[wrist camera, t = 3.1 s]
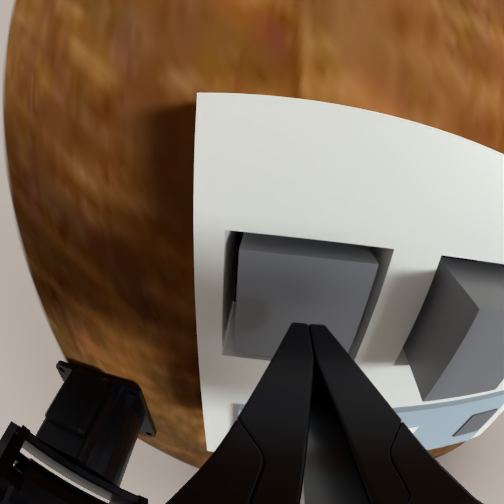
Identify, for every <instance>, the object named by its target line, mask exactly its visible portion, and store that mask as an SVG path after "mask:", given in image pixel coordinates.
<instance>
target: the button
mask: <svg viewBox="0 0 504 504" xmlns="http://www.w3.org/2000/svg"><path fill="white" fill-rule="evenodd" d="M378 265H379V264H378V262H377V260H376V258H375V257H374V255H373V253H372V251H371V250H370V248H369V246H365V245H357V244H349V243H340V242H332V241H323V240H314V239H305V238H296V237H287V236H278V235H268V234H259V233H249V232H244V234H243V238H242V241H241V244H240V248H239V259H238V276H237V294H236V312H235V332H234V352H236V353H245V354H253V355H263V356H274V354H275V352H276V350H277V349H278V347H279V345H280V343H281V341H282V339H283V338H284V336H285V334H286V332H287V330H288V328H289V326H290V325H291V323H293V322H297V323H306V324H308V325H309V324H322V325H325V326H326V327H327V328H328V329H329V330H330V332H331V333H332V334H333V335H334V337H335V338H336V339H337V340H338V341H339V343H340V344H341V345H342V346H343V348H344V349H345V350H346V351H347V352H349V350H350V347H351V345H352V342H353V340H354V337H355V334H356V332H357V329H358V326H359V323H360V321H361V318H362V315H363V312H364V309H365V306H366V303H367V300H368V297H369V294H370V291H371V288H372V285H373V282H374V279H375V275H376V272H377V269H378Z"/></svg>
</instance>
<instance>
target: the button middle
mask: <svg viewBox="0 0 504 504" xmlns="http://www.w3.org/2000/svg"><path fill="white" fill-rule="evenodd" d="M403 350H404V352H405V355H406V357H407V360H408V362H409V365H410V368H411V370H412V373H413V376H414V379H415V381H416V384H417V387H418V390H419V393H420V396H421V399H422V402H425V401H433V400H440V399H447V398H454V397H460V396H466V395H471V394H476V393H481V392H486V391H491V390H495V389H496V388H497V387H498V386H499V384H500V383H501V382H502V380H503V379H504V266H502V265H496V264H489V263H482V262H475V261H467V260H460V259H453V258H445V257H441V258H440V261H439V264H438V267H437V270H436V272H435V275H434V278H433V280H432V283H431V285H430V288H429V290H428V293H427V295H426V298H425V300H424V303H423V305H422V307H421V310H420V312H419V314H418V316H417V319H416V321H415V323H414V325H413V327H412V329H411V331H410V334H409V336H408V338H407V340H406V342H405V344H404V346H403Z"/></svg>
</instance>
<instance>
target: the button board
mask: <svg viewBox="0 0 504 504" xmlns="http://www.w3.org/2000/svg"><path fill="white" fill-rule="evenodd" d="M238 231H239V232H249V233H259V234H268V235H278V236H287V237H296V238H305V239H314V240H323V241H332V242H340V243H349V244H357V245H365V246H369V248H370V250H371V251H372V253H373V255H374V257H375V258H376V260H377V262H378V264H379V265H378V269H377V272H376V275H375V279H374V282H373V285H372V288H371V291H370V294H369V297H368V300H367V303H366V306H365V309H364V312H363V315H362V318H361V321H360V323H359V326H358V329H357V332H356V334H355V337H354V340H353V342H352V345H351V347H350V350H349V352H348V354H349V355H350V356H351V357H352V359H353V360H354V361H355V362H356V364H357V365H358V366H359V367H360V369H361V370H362V371H363V372H364V373H365V375H366V376H367V377H368V378H369V380H370V381H371V382H372V383H373V385H374V386H375V387H376V388H377V390H378V391H379V392H380V393H381V395H382V396H383V397H384V398H385V400H386V401H387V402H388V403H389V405H390V406H391V407H392V408H393V410H394V411H395V412H396V413H397V415H398V416H399V417H400V418H401V420H402V421H401V422H404V423H405V424H406V426H407V427H408V428H409V429H410V431H411V432H412V433H413V434H414V436H415V437H416V438H417V439H418V440H419V442H420V443H421V444H422V445H423V446H424V448H425V449H426V450H430V449H434V448H439V447H443V446H447V445H452V444H455V443H459V442H463V441H467V440H469V439H471V438H473V437H476V436H479V435H480V434H481V433H482V432H483V431H484V430H485V429H486V428H487V427H488V426H489V425H490V424H491V423H492V422H493V421H494V420H495V419H496V418H497V417H498V416H499V415H500V414H501V412H502V411H503V410H504V379H503V380H502V382H501V383H500V384H499V386H498V387H497V388H496V389H495V390H491V391H486V392H481V393H476V394H471V395H466V396H460V397H454V398H447V399H440V400H433V401H425V402H422V399H421V396H420V393H419V390H418V387H417V384H416V381H415V379H414V376H413V373H412V370H411V368H410V365H409V362H408V360H407V357H406V355H405V352H404V350H403V346H404V344H405V342H406V340H407V338H408V336H409V334H410V331H411V329H412V327H413V325H414V323H415V321H416V319H417V316H418V314H419V312H420V310H421V307H422V305H423V303H424V300H425V298H426V295H427V293H428V290H429V288H430V285H431V283H432V280H433V278H434V275H435V272H436V270H437V267H438V264H439V261H440V258H441V255H443V256H450V257H457V258H464V259H471V260H477V262H482V263H489V264H496V265H502V266H504V154H502V153H499V152H497V151H495V150H493V149H490V148H488V147H485V146H483V145H481V144H478V143H476V142H473V141H470V140H468V139H465V138H462V137H460V136H457V135H454V134H451V133H448V132H445V131H442V130H439V129H436V128H433V127H430V126H427V125H423V124H420V123H417V122H413V121H409V120H406V119H402V118H398V117H394V116H390V115H386V114H382V113H378V112H373V111H369V110H364V109H359V108H354V107H349V106H344V105H338V104H332V103H326V102H320V101H313V100H306V99H298V98H289V97H279V96H268V95H255V94H237V93H197V105H196V124H195V149H194V196H193V234H194V282H195V308H196V327H197V344H198V359H199V372H200V385H201V396H202V406H203V416H204V426H205V435H206V443H207V451H212V452H214V451H215V450H216V449H217V447H218V446H219V444H220V443H221V442H222V440H223V439H224V437H225V436H226V434H227V433H228V431H229V430H230V428H231V427H232V425H233V423H234V422H235V421H236V420H237V417H238V416H239V414H240V413H241V411H242V409H243V408H244V406H245V404H246V403H247V401H248V399H249V398H250V396H251V394H252V393H253V391H254V389H255V387H256V386H257V384H258V382H259V381H260V379H261V377H262V375H263V374H264V372H265V370H266V368H267V367H268V365H269V363H270V361H271V359H272V358H273V356H263V355H253V354H245V353H236V352H234V332H235V312H236V302H234V295H235V276H236V258H237V240H238Z"/></svg>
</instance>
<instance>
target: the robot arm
mask: <svg viewBox="0 0 504 504" xmlns="http://www.w3.org/2000/svg"><path fill="white" fill-rule="evenodd" d="M56 368H57V369H58V371H59V373H60V375H61V377H62V379H63V381H64V383H63V385H62V387H61V388H60V390H59V392H58V393H57V395H56V397H55V398H54V400H53V402H52V403H51V405H50V406H49V408H48V410H47V412H46V414H45V416H46V418H45V420H44V421H43V423H42V425H41V427H40V429H39V430H38V432H37V434H36V436H34V435H33V434H32V433H30V430H29V429H27V428H26V427H25V426H24V425H23V426H22V427H20V426H18V425H16V424H15V423H13V422H11V423H10V425H9V426H8V428H7V429H6V431H5V433H4V435H3V436H2V438H1V440H0V504H108V503H106V502H104V501H102V500H100V499H98V498H96V497H94V496H92V495H90V494H88V493H86V492H84V491H83V490H80V489H79V488H77V487H75V486H73V485H72V484H70V483H68V482H67V481H65V480H63V479H62V478H60V477H58V476H57V475H55V474H54V473H52V472H50V471H49V470H47V469H46V468H44V467H43V466H41V465H40V464H38V463H37V462H35V461H34V460H33V459H31V458H30V459H29V458H27V457H26V456H24V455H23V454H22V453H20V449H21V448H24V449H25V450H26V451H28V452H29V453H30V454H32V455H33V456H34V457H36V458H37V459H39V460H40V461H41V462H43V463H45V464H46V465H47V466H49V467H50V468H52V469H54V470H55V471H57V472H59V473H60V474H61V475H63V476H65V477H66V478H68V479H70V480H71V481H73V482H75V483H77V484H78V485H80V486H82V487H84V488H86V489H88V490H90V491H92V492H93V493H95V494H97V495H99V496H101V497H103V498H105V499H107V500H110V502H109V504H148V499H146V498H144V497H142V496H138V495H134V494H132V493H130V492H128V491H126V490H124V489H121V488H119V487H120V484H121V481H122V478H123V475H124V473H125V470H126V467H127V464H128V462H129V458H130V456H131V453H132V451H133V448H134V445H135V442H136V440H137V437H138V434H142V435H146V436H150V437H155V435H156V432H157V431H156V429H155V426H154V423H153V421H152V418H151V415H150V413H149V410H148V407H147V404H146V401H145V399H144V396H143V393H142V390H141V388H140V387H139V386H137V385H136V384H133V383H129V382H126V381H122V380H119V379H115V378H112V377H108V376H105V375H102V374H99V373H95V372H92V371H89V370H86V369H83V368H80V367H77V366H75V365H72V364H69V363H66V362H64V361H59V362H58V363H57V365H56ZM401 421H402V420H401V418H400V417H399V416H398V415H397V413H396V412H395V411H394V410H393V408H392V407H391V406H390V405H389V403H388V402H387V401H386V400H385V398H384V397H383V396H382V395H381V393H380V392H379V391H378V390H377V388H376V387H375V386H374V385H373V383H372V382H371V381H370V380H369V378H368V377H367V376H366V375H365V373H364V372H363V371H362V370H361V369H360V367H359V366H358V365H357V364H356V362H355V361H354V360H353V359H352V357H351V356H350V355H349V354H348V352H347V351H346V350H345V349H344V348H343V346H342V345H341V344H340V343H339V341H338V340H337V339H336V338H335V337H334V335H333V334H332V333H331V332H330V330H329V329H328V328H327V327H326V326H325V325H322V324H309V325H308V324H306V323H297V322H293V323H291V325H290V326H289V328H288V330H287V332H286V334H285V336H284V338H283V339H282V341H281V343H280V345H279V347H278V349H277V350H276V352H275V354H274V356H273V358H272V359H271V361H270V363H269V365H268V367H267V368H266V370H265V372H264V374H263V375H262V377H261V379H260V381H259V382H258V384H257V386H256V387H255V389H254V391H253V393H252V394H251V396H250V398H249V399H248V401H247V403H246V404H245V406H244V408H243V409H242V411H241V413H240V414H239V416H238V417H237V420H236V421H235V422H234V423H233V425H232V427H231V428H230V430H229V431H228V433H227V434H226V436H225V437H224V439H223V440H222V442H221V443H220V444H219V446H218V447H217V449H216V450H215V451H214V453H213V454H212V455H211V456H210V458H209V459H208V460H207V461H206V462H205V463H204V465H203V466H202V467H201V468H200V469H199V470H198V472H197V473H196V474H195V475H194V476H193V477H192V478H191V479H190V480H189V481H188V482H187V483H186V484H185V485H184V486H183V487H182V488H181V489H180V490H179V491H178V492H177V493H176V494H175V495H174V496H173V497H172V498H171V499H170V500H169V501H168V502H167V503H166V504H300V499H301V492H302V485H303V478H304V496H305V504H483V503H481V502H480V501H478V500H477V499H476V498H474V497H473V496H472V495H471V494H470V493H469V492H468V491H467V490H466V489H465V488H464V487H463V486H462V485H461V484H460V483H458V481H457V480H456V479H455V478H454V477H453V476H451V474H449V472H448V471H447V470H445V468H444V467H442V466H441V465H440V464H439V463H438V461H437V460H436V459H435V458H434V457H433V456H432V455H431V454H430V453H429V452H428V451H427V450H426V449H425V448H424V446H423V445H422V444H421V443H420V442H419V440H418V439H417V438H416V437H415V436H414V434H413V433H412V432H411V431H410V429H409V428H408V427H407V426H406V424H405V423H404V422H401ZM13 464H15V466H13Z"/></svg>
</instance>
